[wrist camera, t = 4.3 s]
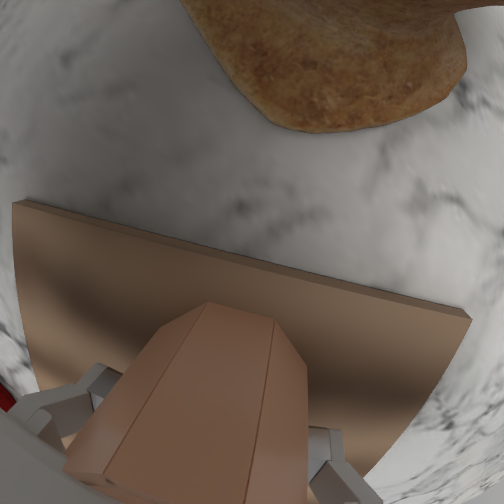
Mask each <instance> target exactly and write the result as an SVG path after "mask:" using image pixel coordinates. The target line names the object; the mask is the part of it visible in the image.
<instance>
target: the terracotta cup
mask: <svg viewBox="0 0 504 504" xmlns="http://www.w3.org/2000/svg"><path fill="white" fill-rule="evenodd" d="M64 454H65V455H66V456H67V461H66V463H65V465H64V466H63V468H62V470H61V471H63V472H65V473H66V474H68V475H70V476H71V477H73V478H75V479H76V480H78V481H80V482H82V483H84V484H85V485H87V486H89V487H91V488H93V489H95V490H97V491H99V492H101V493H103V494H105V495H107V496H109V497H111V498H113V499H115V500H117V501H120V502H122V503H124V504H307V485H308V380H307V365H306V364H305V362H304V361H303V359H302V358H301V356H300V355H299V353H298V352H297V351H296V349H295V348H294V346H293V345H292V343H291V342H290V340H289V339H288V337H287V336H286V334H285V333H284V331H283V330H282V328H281V327H280V325H279V324H278V322H277V321H276V320H274V319H273V318H269V317H265V316H261V315H257V314H253V313H250V312H246V311H242V310H238V309H234V308H231V307H227V306H223V305H219V304H216V303H212V302H206V303H204V304H202V305H200V306H199V307H197V308H195V309H193V310H191V311H189V312H187V313H186V314H184V315H182V316H180V317H178V318H176V319H174V320H172V321H171V322H169V323H167V324H165V325H163V326H161V327H160V328H159V329H158V331H157V332H156V333H155V334H154V336H153V337H152V338H151V339H150V341H149V342H148V343H147V345H146V346H145V347H144V348H143V350H142V351H141V352H140V353H139V355H138V356H137V357H136V358H135V360H134V361H133V362H132V364H131V365H130V366H129V367H128V369H127V370H126V371H125V373H124V374H123V375H122V376H121V378H120V379H119V380H118V382H117V383H116V384H115V385H114V387H113V388H112V389H111V391H110V392H109V393H108V395H107V396H106V397H105V398H104V400H103V401H102V402H101V404H100V405H99V406H98V408H97V409H96V410H95V412H94V413H93V414H92V416H91V417H90V418H89V420H88V421H87V422H86V423H85V425H84V426H83V427H82V429H81V430H80V431H79V433H78V434H77V436H76V437H75V438H74V440H73V441H72V442H71V444H70V445H69V446H68V448H67V449H66V450H65V452H64Z"/></svg>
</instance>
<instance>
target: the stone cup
mask: <svg viewBox="0 0 504 504" xmlns="http://www.w3.org/2000/svg"><path fill="white" fill-rule="evenodd" d="M180 1H181V3H182V5H183V6H184V8H185V9H186V11H187V13H188V14H189V16H190V17H191V19H192V21H193V22H194V24H195V25H196V27H197V29H198V30H199V32H200V34H201V35H202V37H203V38H204V40H205V41H206V43H207V45H208V46H209V48H210V49H211V51H212V52H213V54H214V56H215V57H216V59H217V60H218V62H219V64H220V65H221V67H222V68H223V70H224V71H225V73H226V74H227V76H228V77H229V78H230V80H231V81H232V82H233V84H234V85H235V87H236V88H237V89H238V90H239V91H240V92H241V93H242V94H243V95H244V96H245V97H246V98H247V99H248V100H249V101H250V102H251V103H252V104H253V106H254V107H255V108H257V109H258V110H259V111H260V112H261V113H262V114H263V115H264V116H265V117H266V118H267V119H268V120H269V121H271V122H272V123H273V124H276V125H278V126H281V127H284V128H286V129H291V130H296V131H301V132H307V133H330V132H347V131H354V130H359V129H364V128H371V127H379V126H384V125H387V124H390V123H393V122H396V121H399V120H402V119H405V118H407V117H410V116H413V115H416V114H418V113H420V112H422V111H424V110H426V109H428V108H430V107H432V106H433V105H435V104H437V103H439V102H441V101H442V100H444V99H445V98H447V96H448V95H449V94H450V92H451V91H452V90H453V89H454V87H455V86H456V85H457V83H458V82H459V81H460V79H461V78H462V76H463V75H464V73H465V71H466V69H467V56H466V48H465V45H464V42H463V39H462V36H461V33H460V30H459V27H458V25H457V22H456V20H455V17H454V15H453V14H454V13H456V12H458V11H462V10H466V9H472V8H478V7H485V6H504V0H180Z"/></svg>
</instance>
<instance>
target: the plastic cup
mask: <svg viewBox="0 0 504 504" xmlns="http://www.w3.org/2000/svg"><path fill="white" fill-rule="evenodd" d="M15 404H16V401H15V400H14V399H13V397H12V396H11V395H10V393H9V392H8V391H7V390H6V389H5V388H4V387H3V386H2V385H1V384H0V408H1V409H2V410H4V411H5V412H6V413H7V412H8V411H9V410H10V409H11V408H12V407H13V406H14V405H15Z"/></svg>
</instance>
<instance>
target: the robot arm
mask: <svg viewBox="0 0 504 504" xmlns="http://www.w3.org/2000/svg"><path fill="white" fill-rule="evenodd" d="M122 375H123V373H121V372H119V371H117V370H115V369H112V368H110V367H108V366H106V365H104V364H102V363H99V362H97V363H95V364H94V365H93V366H92V367H91V368H90V369H89V370H88V371H87V372H86V373H85V374H84V376H83V377H82V378H81V379H80V380H79V381H78V382H77V383H76V384H73V383H71V384H68V385H64V386H60V387H56V388H52V389H48V390H44V391H40V392H36V393H31V394H27V395H24V396H23V397H22V398H21V399H20V400H19V401H18V402H17V403H16V404H15V405H14V406H13V407H12V408H11V409H10V410H9V411H8V412H7V413H6V412H5V411H4V410H2V409H1V408H0V504H124V503H122V502H120V501H117V500H115V499H113V498H111V497H109V496H107V495H105V494H103V493H101V492H99V491H97V490H95V489H93V488H91V487H89V486H87V485H85V484H84V483H82V482H80V481H78V480H76V479H75V478H73V477H71V476H70V475H68V474H66V473H65V472H63V471H61V470H62V468H63V466H64V465H65V463H66V461H67V456H66V455H65V454H64V452H65V447H64V445H63V443H62V440H61V439H62V438H64V437H67V436H69V435H71V434H73V433H76V432H78V431H80V430H81V429H82V427H83V426H84V425H85V423H86V422H87V421H88V420H89V418H90V417H91V416H92V414H93V413H94V412H95V410H96V409H97V408H98V406H99V405H100V404H101V402H102V401H103V400H104V398H105V397H106V396H107V395H108V393H109V392H110V391H111V389H112V388H113V387H114V385H115V384H116V383H117V382H118V380H119V379H120V378H121V376H122ZM308 484H309V487H310V489H311V490H312V492H313V494H314V495H315V497H316V499H317V500H318V502H319V504H383V500H382V499H381V498H380V497H379V496H378V495H377V494H376V492H375V491H374V490H373V489H372V488H371V487H370V486H369V485H368V484H367V483H366V481H365V480H364V479H363V478H362V477H361V476H360V475H359V474H358V472H357V471H356V470H355V469H354V468H353V467H352V466H351V464H350V463H349V462H345V454H344V445H343V437H342V431H341V430H340V429H332V428H325V427H317V426H309V425H308Z"/></svg>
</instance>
